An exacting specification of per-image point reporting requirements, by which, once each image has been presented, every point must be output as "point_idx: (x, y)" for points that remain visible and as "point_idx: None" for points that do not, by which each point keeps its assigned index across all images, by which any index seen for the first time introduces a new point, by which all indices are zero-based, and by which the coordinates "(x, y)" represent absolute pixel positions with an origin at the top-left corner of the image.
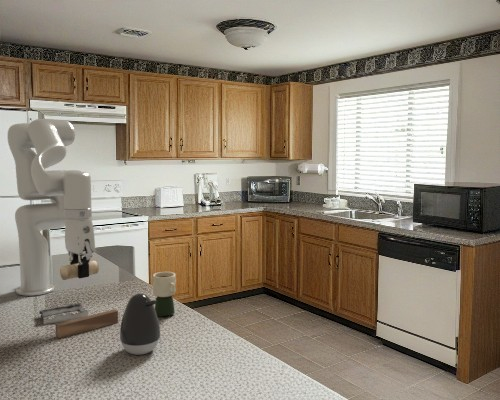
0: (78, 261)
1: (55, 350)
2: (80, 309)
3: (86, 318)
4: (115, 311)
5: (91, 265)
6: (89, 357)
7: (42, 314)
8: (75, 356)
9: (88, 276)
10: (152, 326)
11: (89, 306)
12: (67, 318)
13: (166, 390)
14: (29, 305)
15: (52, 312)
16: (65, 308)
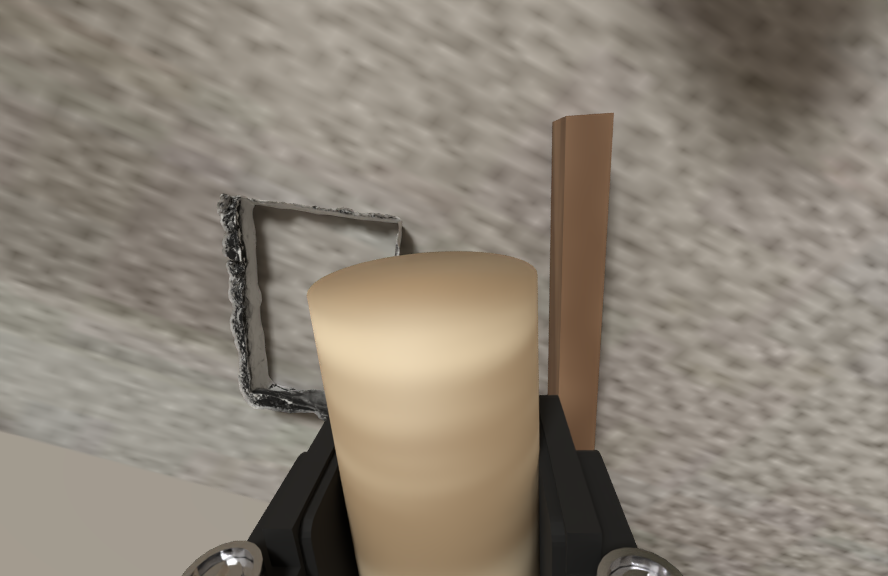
0: (305, 563)
1: (684, 472)
2: (269, 204)
3: (593, 323)
4: (610, 131)
5: (523, 414)
6: (865, 412)
7: (305, 408)
8: (805, 444)
9: (555, 398)
10: None
11: (233, 135)
12: None
13: None
14: (78, 366)
15: (257, 339)
16: (246, 279)
